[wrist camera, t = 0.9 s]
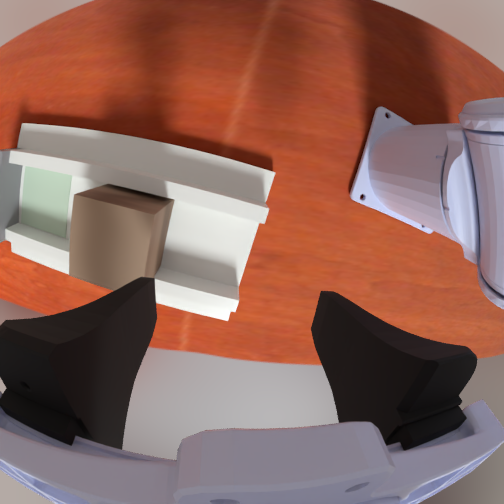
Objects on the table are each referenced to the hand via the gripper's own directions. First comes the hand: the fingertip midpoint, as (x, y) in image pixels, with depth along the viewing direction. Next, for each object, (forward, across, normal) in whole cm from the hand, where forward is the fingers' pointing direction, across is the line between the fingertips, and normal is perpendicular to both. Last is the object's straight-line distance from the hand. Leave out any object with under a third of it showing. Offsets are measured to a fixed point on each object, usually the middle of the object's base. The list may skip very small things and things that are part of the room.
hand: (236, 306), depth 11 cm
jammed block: (+8, +7, -1) cm, 11 cm away
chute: (+9, +10, -1) cm, 14 cm away
